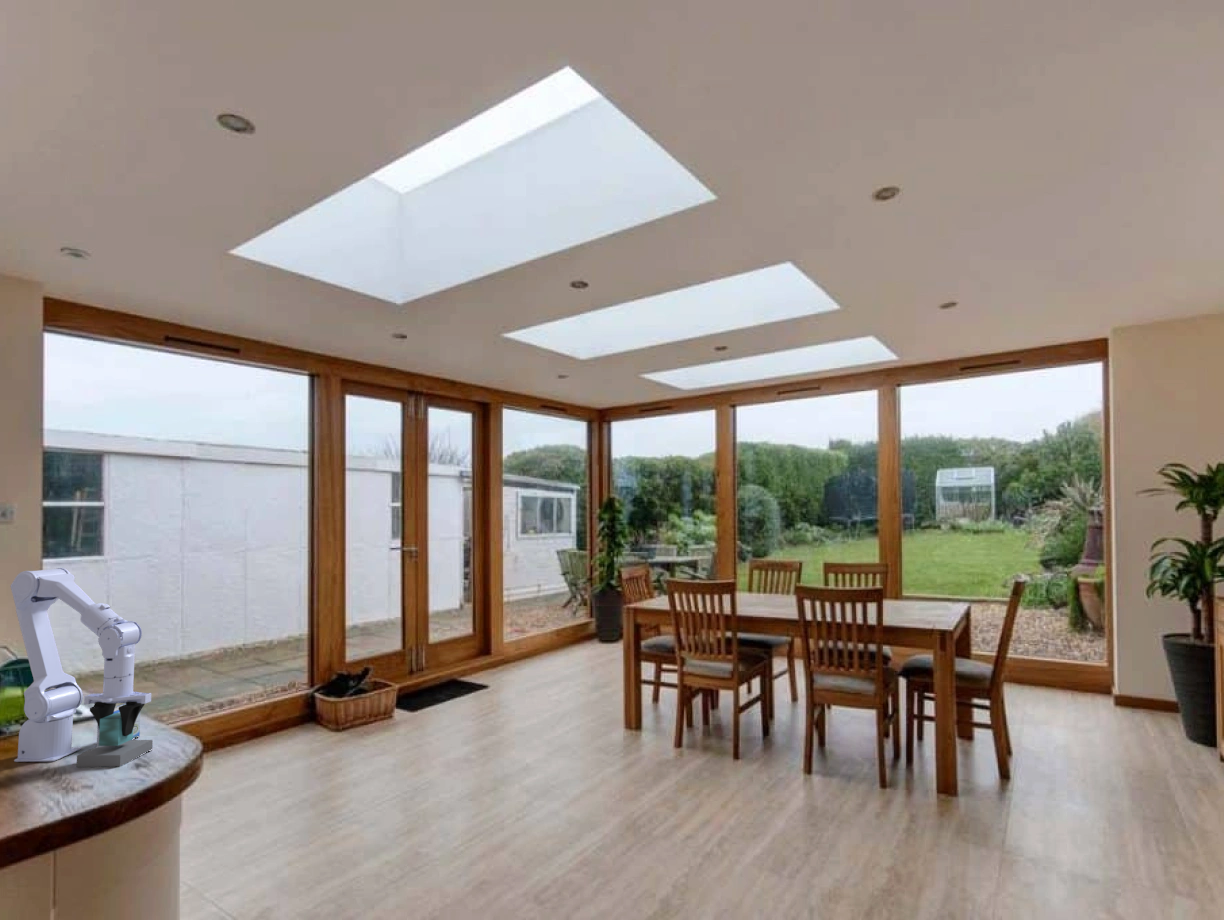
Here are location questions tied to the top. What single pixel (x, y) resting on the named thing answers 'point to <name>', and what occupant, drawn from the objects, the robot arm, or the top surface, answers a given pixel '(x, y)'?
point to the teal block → (112, 731)
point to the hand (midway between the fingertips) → (116, 735)
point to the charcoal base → (113, 754)
